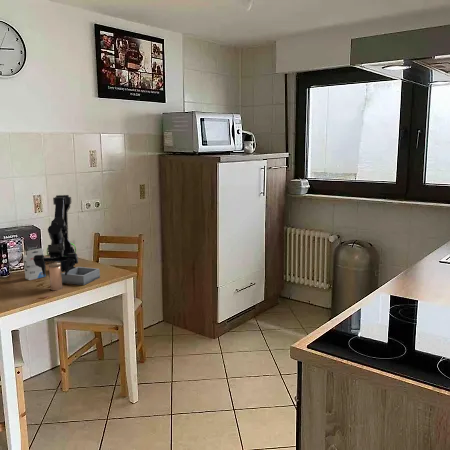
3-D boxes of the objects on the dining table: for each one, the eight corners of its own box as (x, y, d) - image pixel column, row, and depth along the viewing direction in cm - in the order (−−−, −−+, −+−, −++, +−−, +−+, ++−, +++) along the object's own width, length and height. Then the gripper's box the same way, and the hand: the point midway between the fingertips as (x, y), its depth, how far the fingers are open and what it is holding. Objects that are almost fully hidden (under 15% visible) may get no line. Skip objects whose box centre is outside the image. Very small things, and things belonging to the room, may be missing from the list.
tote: (61, 282, 215) (61, 273, 215) (78, 275, 227) (78, 266, 226) (84, 285, 211) (83, 276, 210) (100, 277, 223) (99, 268, 222)
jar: (48, 289, 205) (45, 264, 203) (55, 286, 210) (53, 261, 208) (57, 291, 204) (55, 265, 201) (65, 287, 208) (63, 262, 206)
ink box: (41, 274, 229) (39, 246, 226) (46, 276, 226) (43, 247, 223) (24, 278, 223) (21, 249, 220) (28, 280, 220) (26, 251, 217)
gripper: (32, 237, 205) (28, 268, 196) (75, 235, 208) (73, 265, 199) (37, 250, 214) (34, 280, 205) (78, 248, 217) (77, 277, 208)
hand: (54, 275), depth 204 cm, fingers open, 9 cm apart
